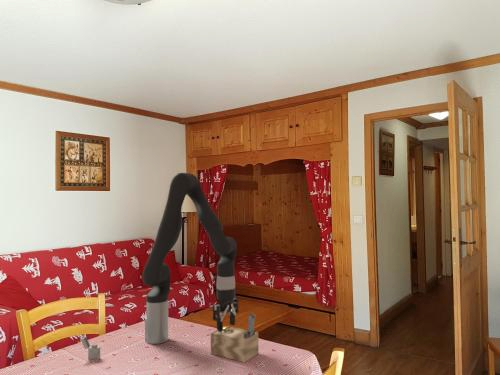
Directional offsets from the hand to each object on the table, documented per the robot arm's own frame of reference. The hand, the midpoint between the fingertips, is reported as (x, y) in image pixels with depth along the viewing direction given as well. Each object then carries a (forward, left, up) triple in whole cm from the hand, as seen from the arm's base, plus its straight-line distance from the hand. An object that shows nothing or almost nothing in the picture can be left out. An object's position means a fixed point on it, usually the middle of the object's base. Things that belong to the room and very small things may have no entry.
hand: (226, 327), depth 152 cm
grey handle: (+11, 0, +3) cm, 12 cm away
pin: (0, 0, -9) cm, 9 cm away
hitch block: (+4, 0, -9) cm, 10 cm away
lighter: (-41, -33, -10) cm, 53 cm away
